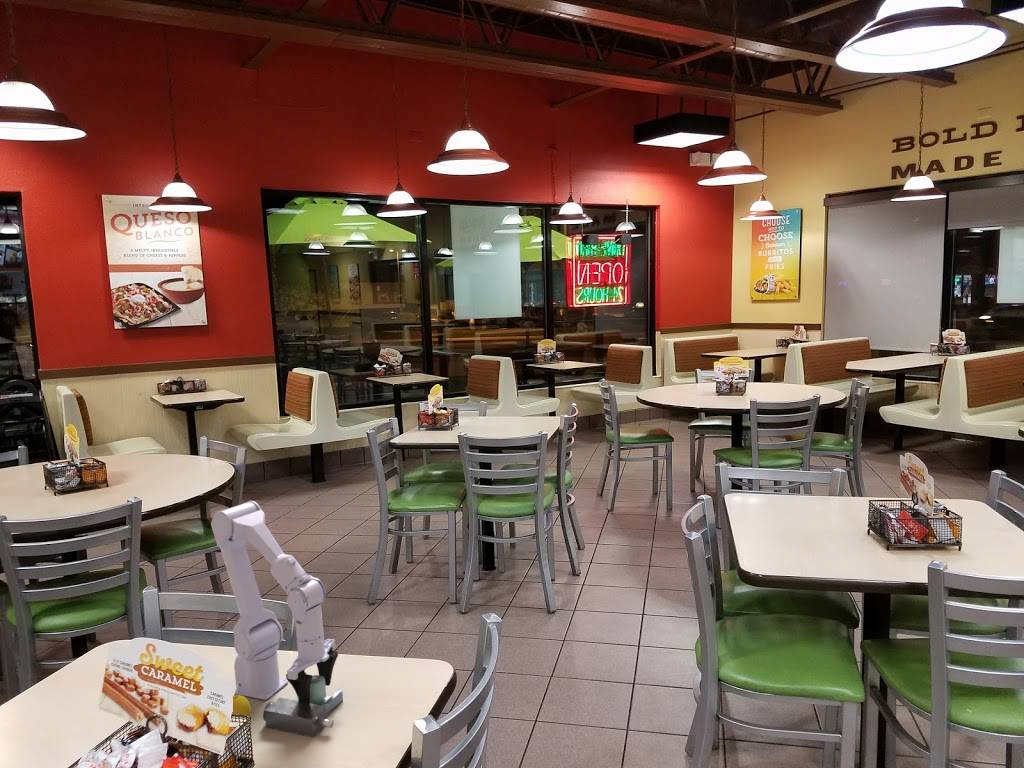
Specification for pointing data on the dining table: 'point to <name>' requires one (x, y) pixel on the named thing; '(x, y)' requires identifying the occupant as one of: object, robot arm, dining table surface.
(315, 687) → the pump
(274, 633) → the robot arm
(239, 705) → the lemon
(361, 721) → the dining table surface
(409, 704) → the dining table surface
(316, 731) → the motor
